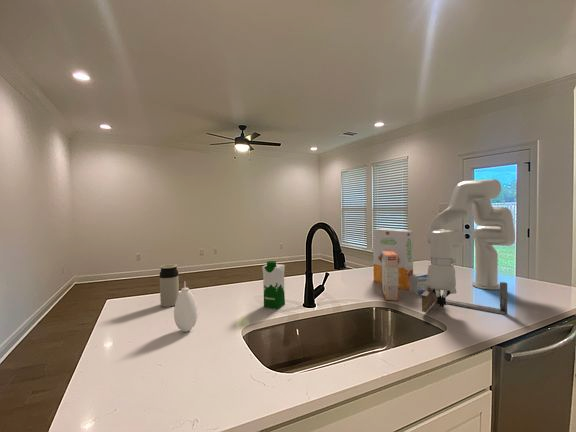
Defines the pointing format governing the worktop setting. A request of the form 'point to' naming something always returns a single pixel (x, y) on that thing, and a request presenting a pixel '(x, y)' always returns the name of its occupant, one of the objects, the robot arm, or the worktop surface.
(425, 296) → the gate
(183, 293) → the white air blower bulb
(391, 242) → the cereal box
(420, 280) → the medicine box
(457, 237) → the robot arm
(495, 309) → the gate frame
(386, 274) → the cracker box
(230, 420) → the worktop surface
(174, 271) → the travel mug
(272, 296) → the milk carton
